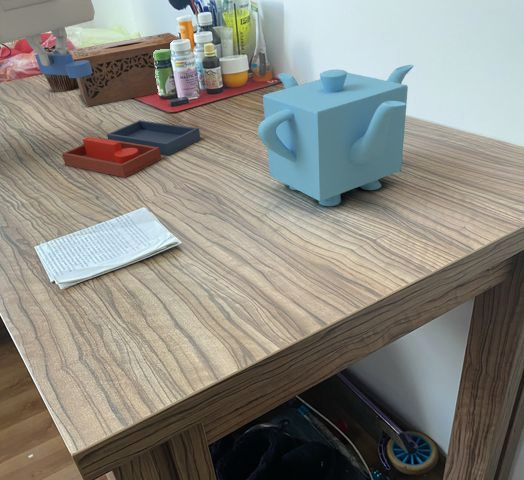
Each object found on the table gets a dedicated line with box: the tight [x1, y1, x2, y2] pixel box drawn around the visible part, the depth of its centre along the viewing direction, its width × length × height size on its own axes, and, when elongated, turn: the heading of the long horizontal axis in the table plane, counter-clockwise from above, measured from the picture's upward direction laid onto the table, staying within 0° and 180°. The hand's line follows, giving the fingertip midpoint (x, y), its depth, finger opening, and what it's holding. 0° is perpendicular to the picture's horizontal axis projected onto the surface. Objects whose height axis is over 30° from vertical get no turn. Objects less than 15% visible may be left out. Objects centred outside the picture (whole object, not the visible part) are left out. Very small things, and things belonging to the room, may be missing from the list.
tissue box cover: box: [68, 32, 181, 108], centre depth 126 cm, size 26×14×10 cm, turn 112°
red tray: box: [61, 137, 162, 178], centre depth 89 cm, size 16×9×2 cm, turn 55°
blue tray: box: [106, 120, 202, 156], centre depth 95 cm, size 16×9×2 cm, turn 55°
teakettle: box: [257, 64, 415, 207], centre depth 68 cm, size 19×19×15 cm
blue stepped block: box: [34, 53, 93, 78], centre depth 87 cm, size 12×4×3 cm, turn 54°
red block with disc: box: [82, 136, 139, 164], centre depth 88 cm, size 12×4×3 cm, turn 54°
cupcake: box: [43, 44, 79, 93], centre depth 136 cm, size 10×10×10 cm
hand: (55, 62), depth 88 cm, fingers closed on blue stepped block
